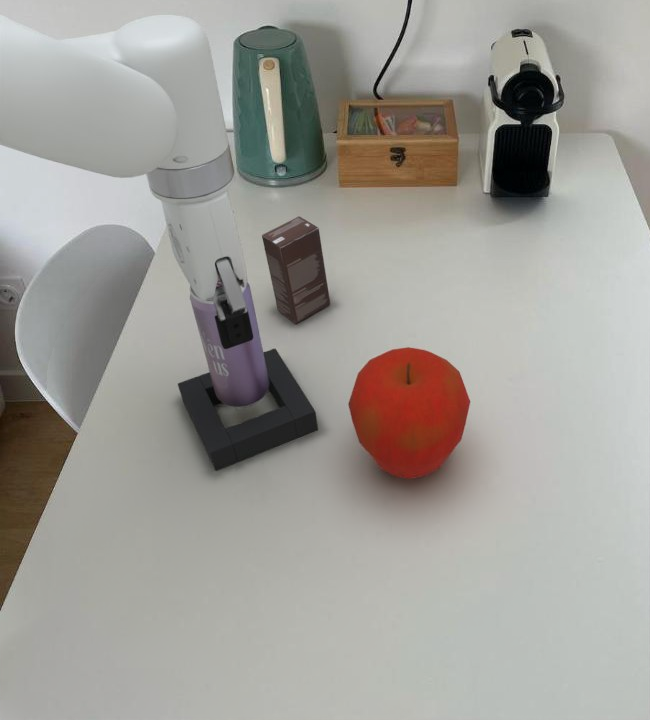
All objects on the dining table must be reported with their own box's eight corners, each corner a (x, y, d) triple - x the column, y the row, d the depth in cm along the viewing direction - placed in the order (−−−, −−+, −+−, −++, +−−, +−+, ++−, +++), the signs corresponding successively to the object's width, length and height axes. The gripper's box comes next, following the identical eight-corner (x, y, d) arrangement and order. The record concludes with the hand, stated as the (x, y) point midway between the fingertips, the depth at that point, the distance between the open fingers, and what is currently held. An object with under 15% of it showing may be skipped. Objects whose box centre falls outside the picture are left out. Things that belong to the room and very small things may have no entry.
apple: (348, 427, 91) (336, 331, 81) (452, 409, 92) (453, 314, 83) (365, 515, 82) (354, 420, 72) (480, 494, 83) (484, 398, 74)
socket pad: (215, 471, 87) (210, 452, 85) (183, 401, 95) (177, 383, 93) (318, 429, 91) (315, 411, 89) (278, 366, 99) (275, 347, 97)
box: (310, 290, 109) (299, 214, 101) (331, 305, 107) (321, 228, 99) (274, 310, 107) (259, 233, 98) (294, 326, 104) (281, 248, 96)
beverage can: (281, 384, 91) (260, 276, 81) (247, 418, 87) (221, 309, 77) (239, 366, 93) (214, 259, 83) (205, 399, 89) (174, 291, 79)
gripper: (123, 138, 76) (168, 291, 88) (176, 226, 64) (218, 388, 76) (200, 118, 78) (233, 270, 90) (264, 200, 67) (292, 361, 79)
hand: (226, 323), depth 83 cm, fingers closed on beverage can, 6 cm apart
